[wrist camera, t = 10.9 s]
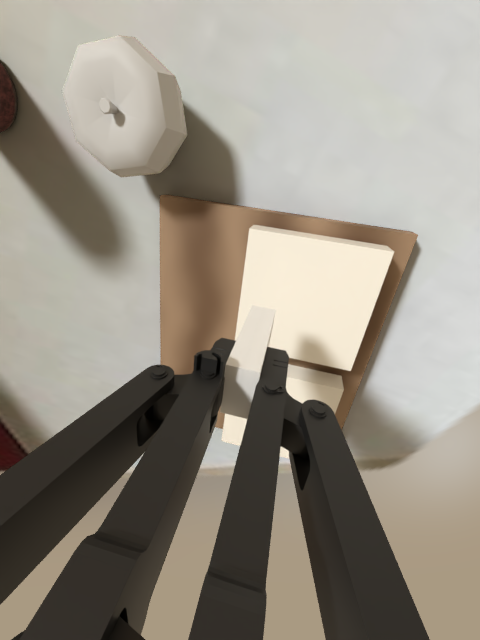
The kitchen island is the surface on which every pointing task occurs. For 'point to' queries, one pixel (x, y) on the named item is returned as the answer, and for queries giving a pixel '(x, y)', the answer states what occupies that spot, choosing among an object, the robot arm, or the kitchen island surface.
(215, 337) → the board
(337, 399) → the square block
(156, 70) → the apple
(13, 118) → the can
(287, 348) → the tile cream
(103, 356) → the kitchen island surface
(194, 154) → the kitchen island surface
